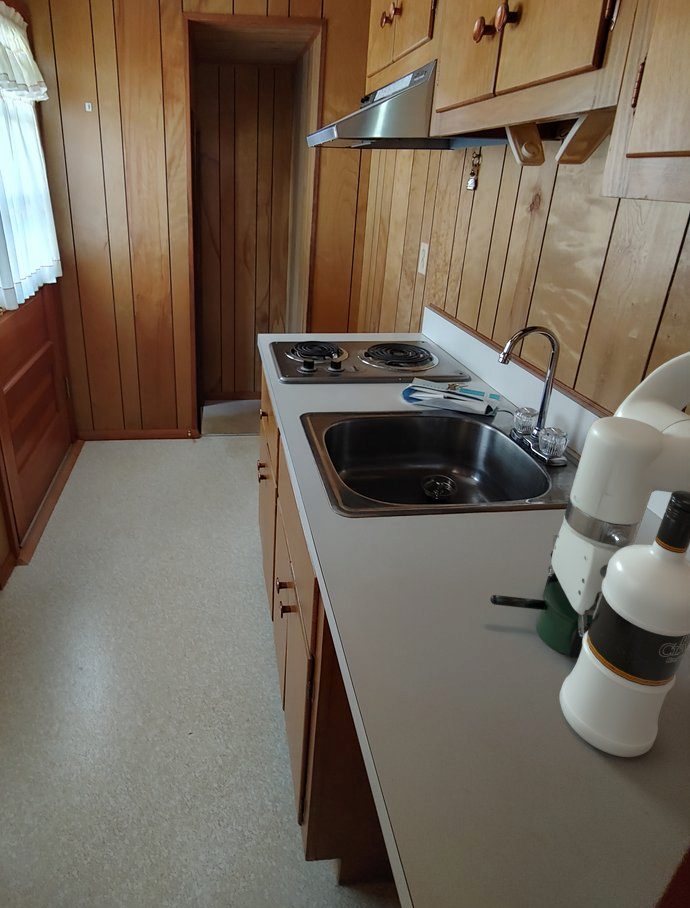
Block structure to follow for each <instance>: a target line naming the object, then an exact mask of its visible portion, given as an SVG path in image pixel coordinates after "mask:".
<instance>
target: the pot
mask: <svg viewBox="0 0 690 908" xmlns="http://www.w3.org/2000/svg"><path fill="white" fill-rule="evenodd" d="M542 596H543V597H542V599H536V598H525V597H516V596H508V595H500V594H499V595H498V594H493V595H491V596H490V599H489V600H490V603H491V604H492V605H494V606H502V607H503V606H505V607H513V608H521V609H531V610H540V611H539V616H538V619H537V623H536V631H537V635H538V636H539V638H540V639H541V640H542V642H543V643H545V644H546V645H547V646H548V647H549V648H550V649H552V650H554V651H556V652H558V653H560V654H562V655H564V656H565V655H566V656H569V654H568V648H569V645H570V642H571V639H572V636H573V633H574V630H576V629H578V612H576V611H575V609H574V608H573V607H572V605H571V603H570V602H569V600H568V598H567V596H566V594H565V592H564V590H563V588H562V586H561V584H560V582H559V581H557V582H552V583H550V584H548V585H547V586H546V587H545V586H544V589H543V592H542ZM595 609H596V604H594V605H593V606H592V607H591V608H590V609H589V610H595ZM592 618H593V616H588V615H587V627H590V624H591V621H592Z"/></svg>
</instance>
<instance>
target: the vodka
mask: <svg viewBox="0 0 690 908" xmlns="http://www.w3.org/2000/svg"><path fill="white" fill-rule="evenodd" d="M689 546H690V492H687V491H674V492H673V493H672V492H671V493H670V498H669V500H668V502H667V506H666V508H665V512H664V513H663V516H662V519H661V522H660V524H659V527H658V530H657V532H656V535H655V538H654V540H653V543H652V544H633V545H630V546H626V547H624V548H622V549H620V550H618V551H617V552H616V553H615V554H614V555H613V556H612V558H611V559H610V560H609V563H608V567H607V572H606V576H605V578H604V579H603V581H602V591H601V594H600V597H599V600H598V603H597V606H596V609H595V612H594V615H593V618H592V621H591V624H590V627H589V630H588V631H587V632H586V633H585V634H584V636H583V641H582V644H583V645H582V649H581V653H580V655H579V658H577V661H576V663H575V665H574V667H572V668H573V669H572V670H571V672H570V673H569V675H567V676H566V678H565V679H564V681H563V682H562V685H561V688H560V691H559V696H558V697H559V704H560V708H561V712H562V713H563V716H564V718H565V720H566V721H567V723H568V725H569V726H570V727H571V728H572V730H573V731H574V732H575V733H576V734H578V735H579V737H581V738H582V739H583V740H584V741H585V742H587V743H588V744H590V745H591V746H593V747H594V748H596V749H598V750H600V751H602V752H604V753H606V754H609V755H613V756H616V757H620V758H621V757H622V758H634V757H639V756H642V755H643V754H646V753H647V752H649V751H650V749H652V747H653V745H654V743H655V741H656V738H657V737H658V736H657V735H658V732H659V725H658V722H659V716H660V712H661V710H662V707H663V704H664V701H665V699H666V696H667V695H668V692H669V691H670V690H672V688H673V687H674V685H675V683H676V673H677V671H678V669H679V666H680V664H681V662H682V660H683V657H684V655H685V653H686V650H687V649H688V646H689V644H690V560H689V559H688V558H686V556H687V554H688V550H689Z"/></svg>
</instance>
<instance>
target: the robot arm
mask: <svg viewBox="0 0 690 908" xmlns="http://www.w3.org/2000/svg"><path fill="white" fill-rule="evenodd" d="M689 404H690V351H688V352H684V353H683V354H680V355H678V356H676V357H674V358H672V359H670V360H668V361H666V362H664V363H663V364H661V365H659V367H657V368H656V369H655V370H653V371H652V372H651V373H649V375H648V376H647V377H646V378H644V379H643V380H642V381H641V382H640V383H639V384H638V385H637V386H636V387H635V388H634V390H632V391H631V392H630V394H628V395H627V396H626V398H625V399H623V401H622V402H621V404H619V406H618V407H617V409H616V410H615V412H614V414H613V416H605V417H601V418H598V419H597V420H595V421H594V422H593V423H592V424H591V425H590V426H589V429H588V431H587V434H586V437H585V442H584V445H583V448H582V450H581V451H582V452H581V455H580V459H579V463H578V466H577V469H576V473H575V476H574V479H573V484H572V486H571V490H570V494H569V498H568V501H567V504H566V508H565V512H564V515H563V522H562V524H561V526H560V529H559V531H558V534H554V535H553V537H552V549H553V550H551V552H550V558H551V565H549V566H548V569H547V571H548V575H547V579H546V581H545V586H544V588H545V587H546V586H547V585H548V584H550V583H552V582H557V581H559V582H560V584H561V586H562V588H563V590H564V592H565V594H566V596H567V598H568V600H569V602H570V603H571V605H572V607H573V608H574V609H575V611H576V612H578V629H576V630H574V633H573V636H572V639H571V642H570V645H569V648H568V654H569V655H568V657H570V658H574V659H578V658H579V655H580V653H581V649H582V645H583V644H582V641H583V636H584V634H585V633H586V632H587V631H588V630H589V627H587V615H588V616H593V615H594V612H595V610H589V609H590V608H591V607H592V606H593V605H594V604H596V606H597V603H598V600H599V597H600V594H601V591H602V581H603V579H604V578H605V576H606V572H607V567H608V563H609V560H610V559H611V558H612V556H613V555H614V554H615V553H616V552H617V551H618V550H620V549H622V548H624V547H626V546H630V545H634V543H635V541H636V538H637V537H638V533H639V530H640V527H641V524H642V521H643V518H644V516H645V513H646V510H647V507H648V505H649V503H650V502H649V501H650V498H651V496H652V494H653V493H654V492H657V491H658V492H664V493H671V494H672V493H673V492H674V491H687V492H690V414H687V413H685V412H684V411H683V409H684V408H685V407H686V406H687V405H689ZM542 598H543V595H542Z"/></svg>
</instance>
